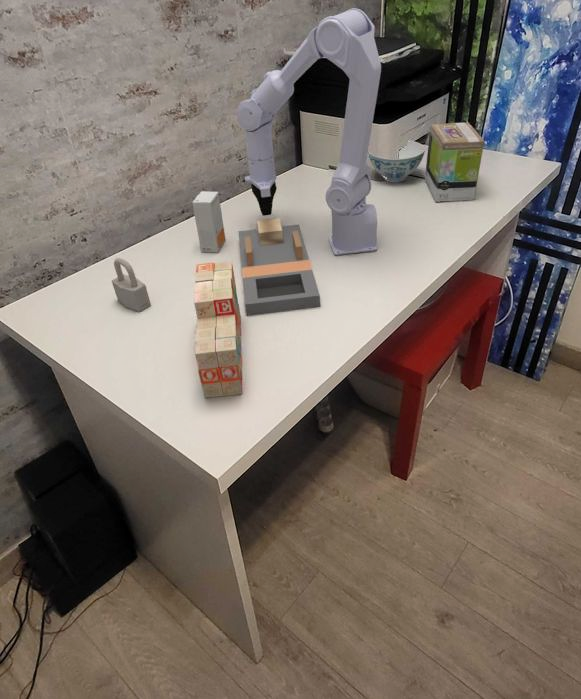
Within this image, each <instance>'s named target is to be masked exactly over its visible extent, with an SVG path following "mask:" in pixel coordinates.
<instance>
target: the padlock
mask: <svg viewBox="0 0 581 699" xmlns="http://www.w3.org/2000/svg"><path fill="white" fill-rule="evenodd" d="M113 266H114V269H115V273H116V276H117V277H116V278H113V279H112V280H111V284H112V287H113V289H114V292H115V295H116V298H117V301H118V302H119V303H120V304H122V305H123V306H124V307H125V308H127V309H130V310H133V311H136V312H140V313H141V312H142V311H144V310H145V309H147V308H148V307H150V306H151V303H152V302H151V300H150V297H149V294H148V290H147V286H146V284H145V283H143V282H142V281H141V280H140V279H138V278H137V277H136V274H135V272H134V269H133V267H132V265H131V264H130V263H129V262H128V261H127V260H126V259H124V258H120V257H118V258H117V257H116V258H115V259H114V262H113ZM121 266H122V267H124V269H125V270H126V272H127V274H128V275H127V274H124V273H123V271H122V267H121Z"/></svg>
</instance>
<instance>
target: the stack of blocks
mask: <svg viewBox="0 0 581 699" xmlns="http://www.w3.org/2000/svg"><path fill="white" fill-rule="evenodd" d="M195 266H196V267H195V273H194V274H195V275H194V285H193V286H194V289H193V290H194V291H193V292H194V295H193V296H194V297H193V304H194V309H195V313H196V330H195V338H194V344H195V350H194V351H195V352H194V355H195V359H196V365H197V372H198V376H199V381H200V383H201V384H200V386H201V388H202V389H201V390H202V393H203V397H204V398H205V399H207V398H216V397H217V398H218V397H227V396H237V395H241V394H243V393H244V392H243V357H242V337H241V336H242V316H241V310H240V304H239V300H238V294H237V285H236V279H235V273H234V266H233V260H223V261H215V262H205V263H198V264H195Z"/></svg>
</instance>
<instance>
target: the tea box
mask: <svg viewBox="0 0 581 699" xmlns="http://www.w3.org/2000/svg"><path fill="white" fill-rule="evenodd" d="M484 146H485V140H484V138H482V136H481V135H480V133H478V132H477V130H476V129H475V128H474V127H473V126H472V125H471V123H470V122H451V123H436V124H433V123H432V124H430V129H429V136H428V148H427V154H426V155H427V156H426V165H425V172H424V173H425V174H424V175H425V176H424V180H426V181H425V182H427V183H426V184H427V187H428V189H429V191H430V193H431V196H432V197H433V200H434V201H435V203H441V202H440V201H450V202H458V201H457V200H468V201H474V200H475V198H476V197H475V196H476V192H477V191H476V190H477V186H478V180H479V175H480V174H479V173H480V169H481V168H480V167H481V163H482V157H483V152H484Z"/></svg>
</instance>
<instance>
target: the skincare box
mask: <svg viewBox="0 0 581 699" xmlns="http://www.w3.org/2000/svg"><path fill="white" fill-rule="evenodd" d="M219 194H220V193H219V191H205V190H204V191H200V192H199V193H198V194H197V195H196V197H195V198H194V199H193V201H192V202H191V203H192V210H193V214H194V218H195V219H194V220H195V224H196V225H195V226H196V229H197V230H196V231H197V235H198V241H199V248H200V251H201V252H202V253H219V252H220V250H221V249H222V247H223V245H224V243H225V242H226V240H227V239H226V233H225V227H224V221H223V214H222V212H223V211H222V207H221V201H220V200H221V199H220V195H219Z"/></svg>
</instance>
